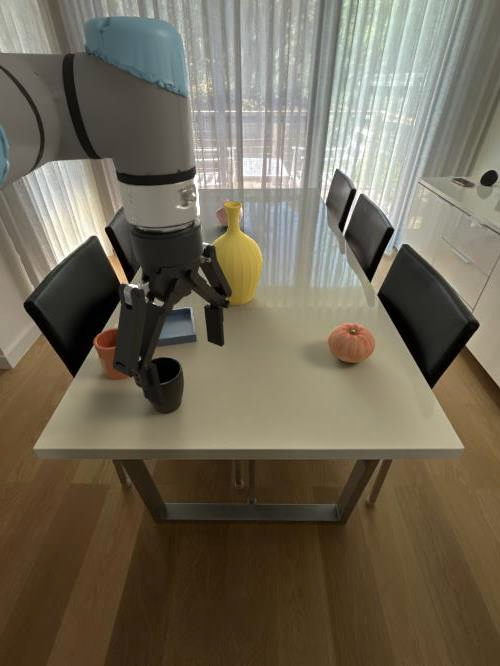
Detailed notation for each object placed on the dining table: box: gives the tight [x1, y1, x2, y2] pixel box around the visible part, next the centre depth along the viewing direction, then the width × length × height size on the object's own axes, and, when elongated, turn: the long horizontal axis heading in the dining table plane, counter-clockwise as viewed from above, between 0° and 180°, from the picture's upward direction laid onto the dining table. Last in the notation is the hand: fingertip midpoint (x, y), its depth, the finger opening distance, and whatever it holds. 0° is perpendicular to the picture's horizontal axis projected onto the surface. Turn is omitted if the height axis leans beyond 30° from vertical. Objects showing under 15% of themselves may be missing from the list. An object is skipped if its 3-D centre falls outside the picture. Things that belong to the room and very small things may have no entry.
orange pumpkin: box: [327, 322, 376, 364], centre depth 80 cm, size 11×11×8 cm
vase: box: [211, 201, 264, 306], centre depth 96 cm, size 16×16×28 cm
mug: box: [148, 356, 185, 415], centre depth 69 cm, size 8×12×10 cm
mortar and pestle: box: [215, 199, 244, 228], centre depth 151 cm, size 12×12×12 cm
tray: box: [156, 306, 198, 348], centre depth 90 cm, size 16×13×2 cm
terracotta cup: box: [93, 327, 129, 381], centre depth 77 cm, size 8×8×9 cm
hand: (188, 369), depth 48 cm, fingers open, 13 cm apart
